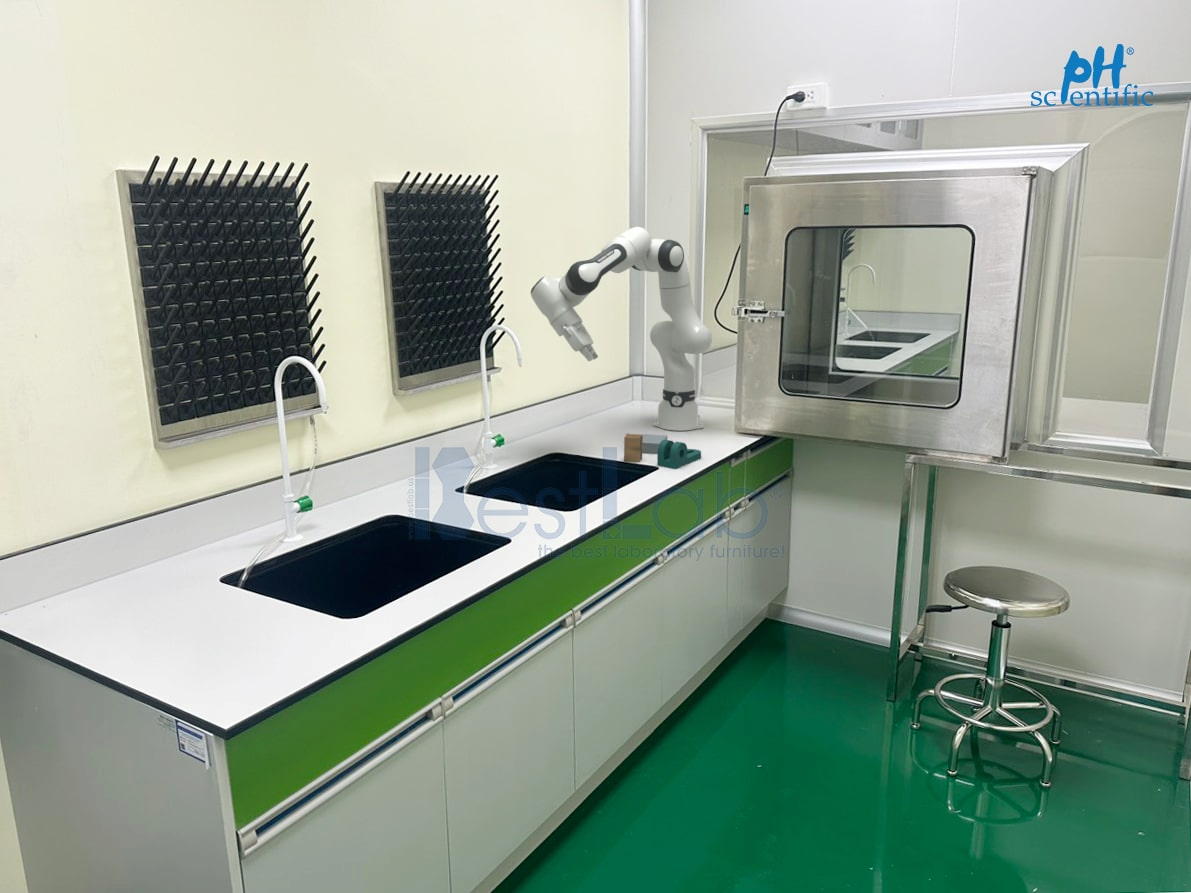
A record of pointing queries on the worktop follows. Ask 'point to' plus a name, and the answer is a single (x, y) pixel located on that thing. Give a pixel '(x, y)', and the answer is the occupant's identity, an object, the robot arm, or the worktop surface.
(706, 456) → the worktop surface
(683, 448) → the bracket
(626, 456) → the walnut block
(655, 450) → the slate base
